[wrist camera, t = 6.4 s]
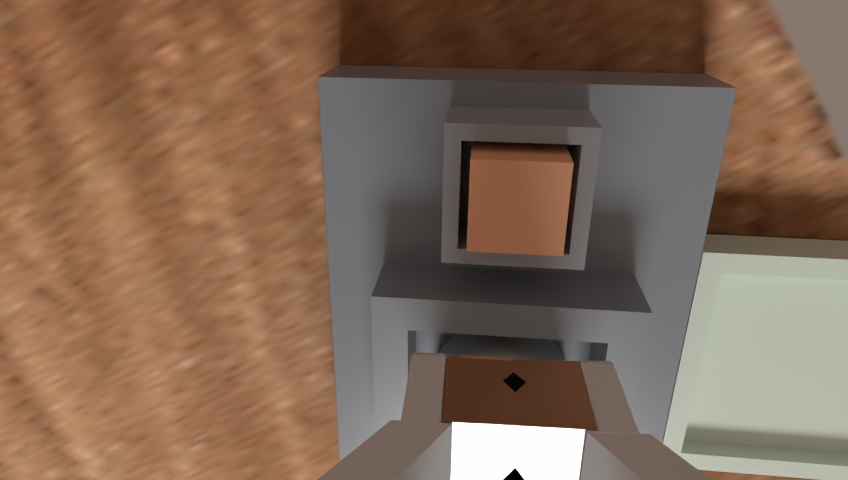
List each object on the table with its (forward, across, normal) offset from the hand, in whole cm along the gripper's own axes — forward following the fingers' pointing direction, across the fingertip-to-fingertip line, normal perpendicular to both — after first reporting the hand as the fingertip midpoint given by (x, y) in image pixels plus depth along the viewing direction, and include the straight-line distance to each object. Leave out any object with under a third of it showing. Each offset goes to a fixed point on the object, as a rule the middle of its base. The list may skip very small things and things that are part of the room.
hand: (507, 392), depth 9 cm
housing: (+15, +1, -6) cm, 16 cm away
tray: (+14, +13, -8) cm, 21 cm away
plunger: (+11, +1, 0) cm, 12 cm away
